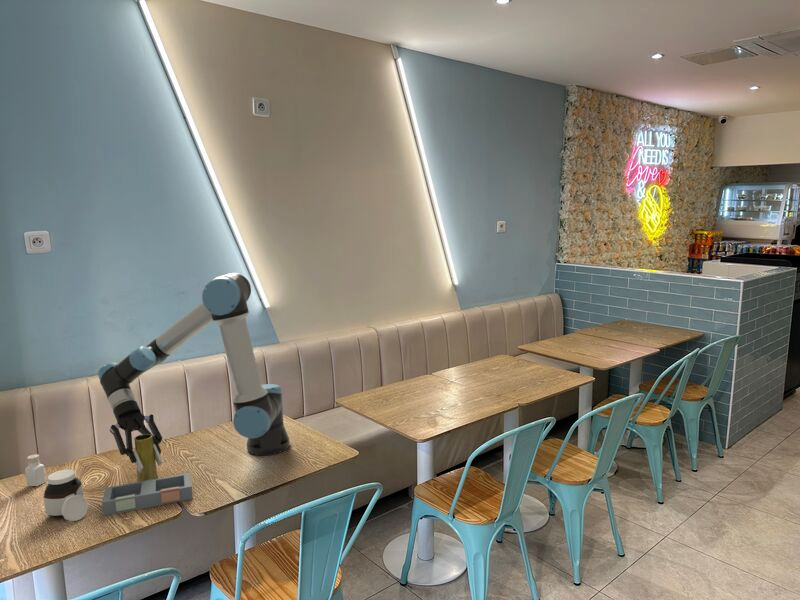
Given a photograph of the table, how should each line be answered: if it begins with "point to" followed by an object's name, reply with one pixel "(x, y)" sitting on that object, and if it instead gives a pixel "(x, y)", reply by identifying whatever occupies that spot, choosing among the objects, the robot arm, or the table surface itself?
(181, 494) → the sorting tray
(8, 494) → the table surface
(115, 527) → the table surface
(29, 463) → the salt shaker
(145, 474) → the vase
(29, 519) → the table surface
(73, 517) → the spread jar
